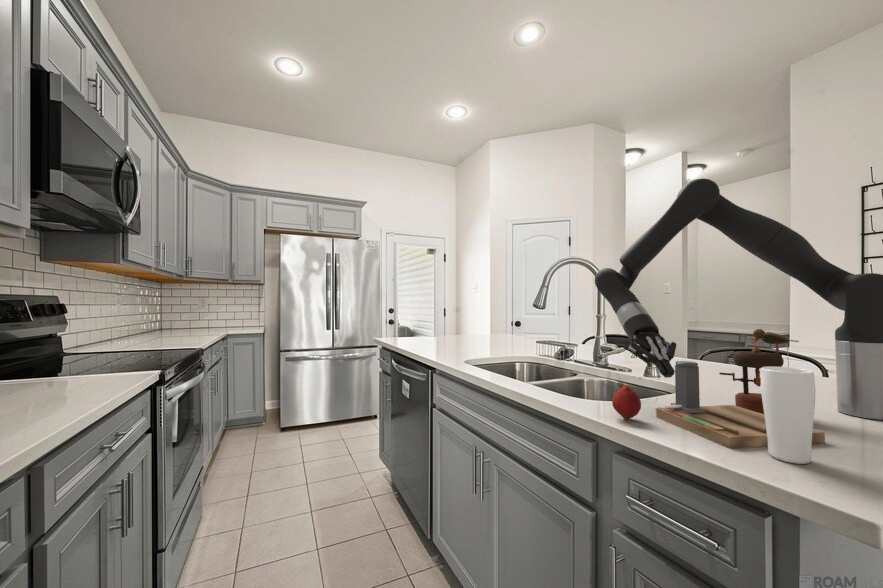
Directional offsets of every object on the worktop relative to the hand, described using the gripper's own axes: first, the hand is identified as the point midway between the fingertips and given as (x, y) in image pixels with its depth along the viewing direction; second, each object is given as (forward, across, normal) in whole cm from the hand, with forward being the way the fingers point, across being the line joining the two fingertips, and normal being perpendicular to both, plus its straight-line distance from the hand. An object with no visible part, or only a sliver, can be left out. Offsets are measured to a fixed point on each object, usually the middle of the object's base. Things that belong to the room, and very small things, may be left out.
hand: (670, 375), depth 89 cm
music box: (+8, +22, +5) cm, 24 cm away
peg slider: (+8, -1, +1) cm, 9 cm away
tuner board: (+14, +5, -2) cm, 15 cm away
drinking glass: (+25, +1, -12) cm, 28 cm away
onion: (+9, -13, +4) cm, 17 cm away
